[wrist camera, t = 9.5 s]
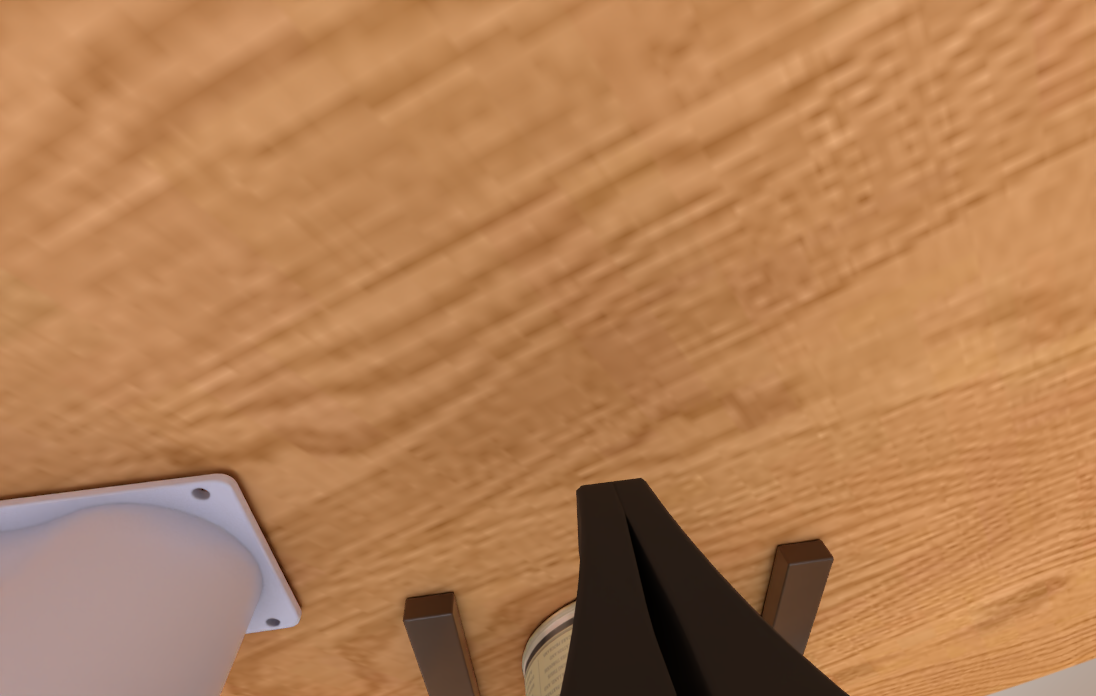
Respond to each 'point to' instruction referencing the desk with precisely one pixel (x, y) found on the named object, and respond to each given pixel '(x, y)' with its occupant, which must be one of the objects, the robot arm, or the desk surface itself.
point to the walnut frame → (785, 610)
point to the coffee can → (548, 654)
